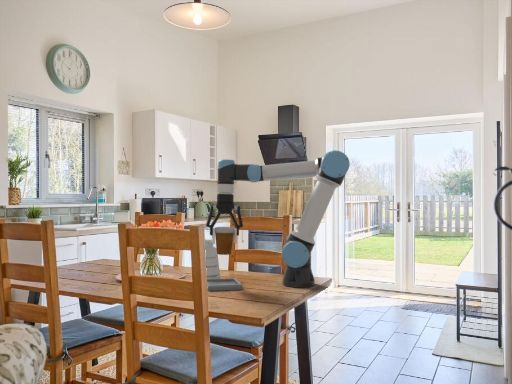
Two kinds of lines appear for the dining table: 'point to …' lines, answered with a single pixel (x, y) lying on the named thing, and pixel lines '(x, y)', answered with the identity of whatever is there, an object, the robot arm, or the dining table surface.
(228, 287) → the grey square tray
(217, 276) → the grater
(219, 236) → the disposable coffee cup
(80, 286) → the dining table surface
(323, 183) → the robot arm
